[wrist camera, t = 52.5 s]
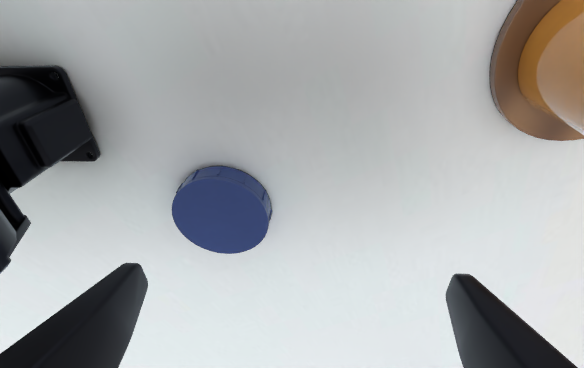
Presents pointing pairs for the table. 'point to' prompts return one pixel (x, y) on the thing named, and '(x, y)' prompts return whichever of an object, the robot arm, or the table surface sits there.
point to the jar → (556, 64)
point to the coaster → (504, 74)
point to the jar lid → (222, 210)
